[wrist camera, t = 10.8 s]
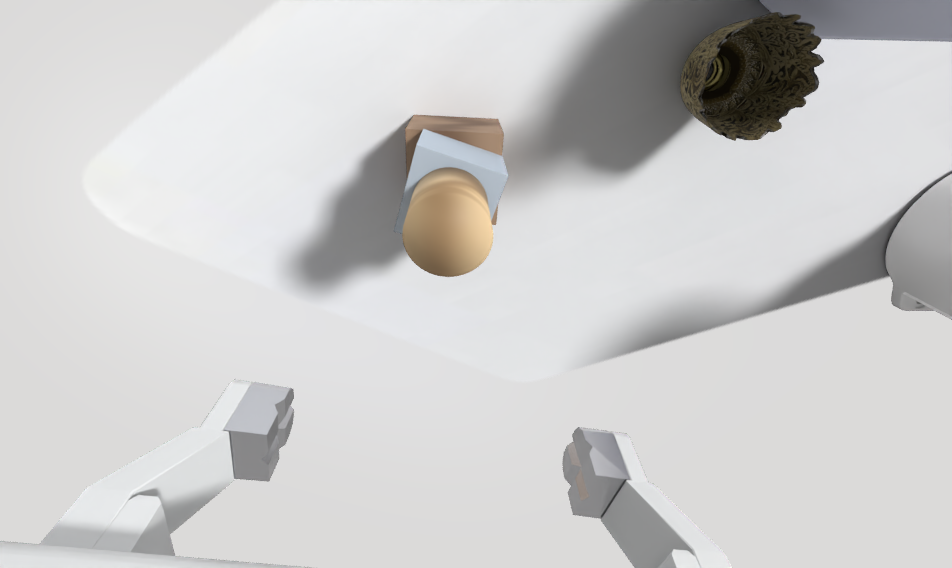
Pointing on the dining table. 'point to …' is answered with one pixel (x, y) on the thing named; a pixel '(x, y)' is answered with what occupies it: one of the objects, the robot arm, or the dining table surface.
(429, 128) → the tower base
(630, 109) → the dining table surface
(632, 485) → the robot arm
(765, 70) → the cup
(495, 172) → the tower top block
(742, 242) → the dining table surface
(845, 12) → the soap bottle
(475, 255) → the beech cylinder
